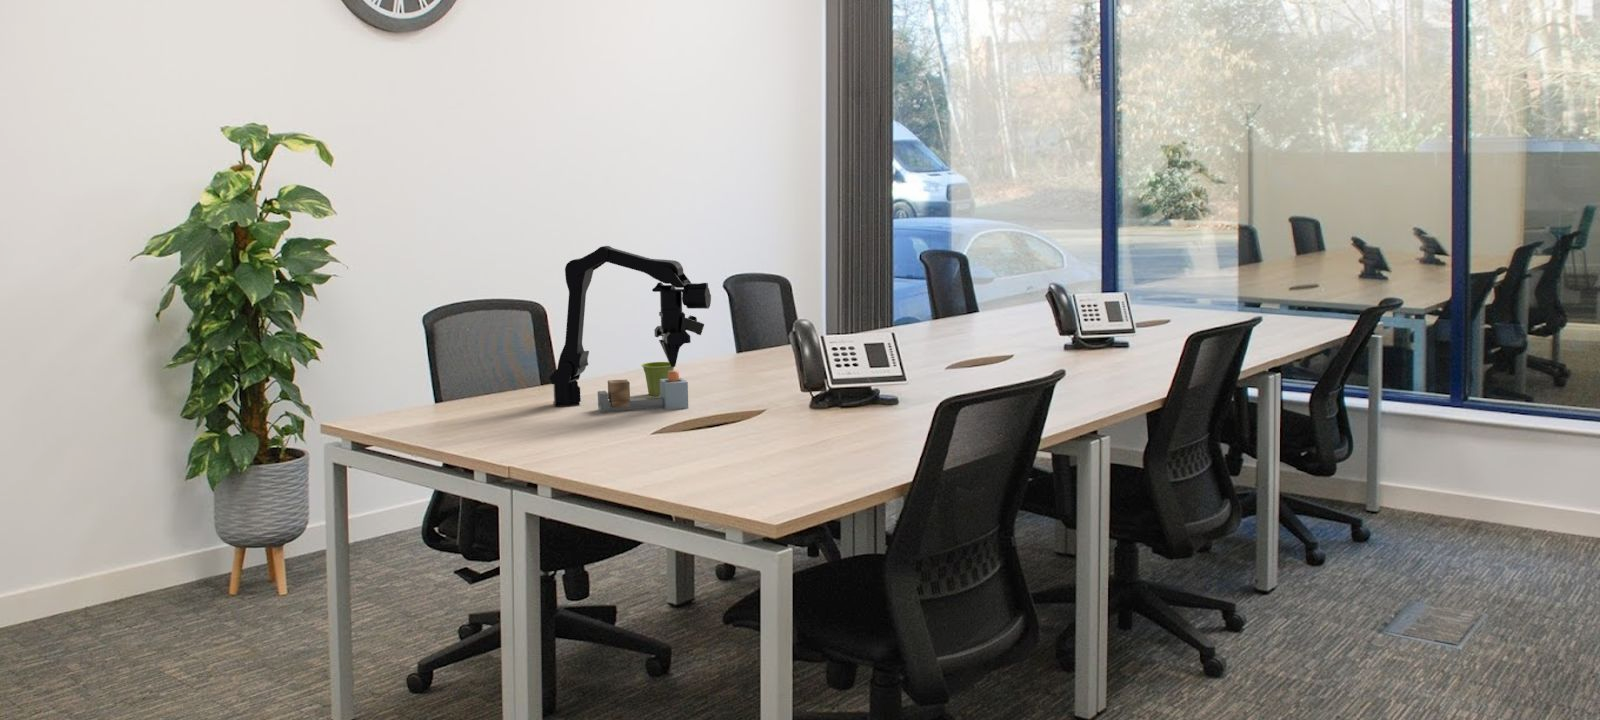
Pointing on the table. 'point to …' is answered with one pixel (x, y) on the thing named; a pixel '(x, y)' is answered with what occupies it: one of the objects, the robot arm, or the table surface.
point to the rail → (635, 404)
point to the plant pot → (656, 375)
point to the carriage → (619, 393)
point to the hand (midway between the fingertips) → (672, 366)
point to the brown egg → (673, 376)
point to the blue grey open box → (674, 394)
